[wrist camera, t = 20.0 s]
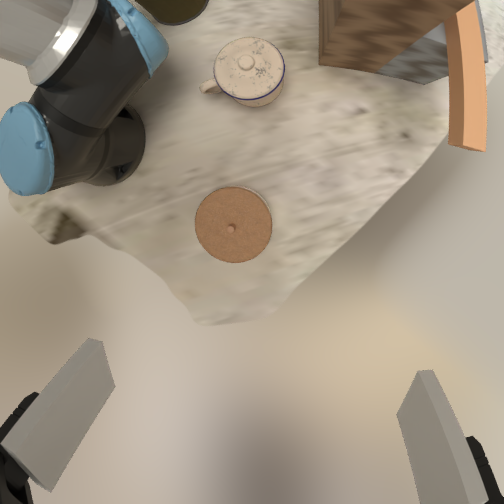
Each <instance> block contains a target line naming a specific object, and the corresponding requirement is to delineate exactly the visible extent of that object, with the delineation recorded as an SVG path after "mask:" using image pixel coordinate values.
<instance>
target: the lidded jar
mask: <svg viewBox="0 0 504 504" xmlns="http://www.w3.org/2000/svg"><path fill="white" fill-rule="evenodd" d="M195 230H196V234H197V237H198V239H199V242H200V243H201V245H202V246H203V248H204V249H205V250H206V251H207V252H208V253H209V254H211V255H212V256H214V257H215V258H217V259H219V260H222V261H225V262H230V263H240V262H245V261H248V260H251V259H253V258H254V257H256V256H257V255H259V254H260V253H261V252H262V251H263V250H264V249H265V247H266V246H267V244H268V242H269V240H270V237H271V233H272V218H271V213H270V210H269V207H268V205H267V203H266V202H265V200H264V199H263V198H262V197H261V196H260V195H259V194H258V193H257V192H255V191H254V190H252V189H249V188H247V187H243V186H228V187H224V188H221V189H219V190H216V191H214V192H213V193H211V194H209V195H208V196H207V197H206V198H205V199H204V200H203V201H202V203H201V204H200V206H199V208H198V210H197V213H196V217H195Z"/></svg>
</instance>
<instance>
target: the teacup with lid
mask: <svg viewBox="0 0 504 504" xmlns="http://www.w3.org/2000/svg"><path fill="white" fill-rule="evenodd" d="M284 72H285V64H284V60H283V57H282V55H281V53H280V52H279V50H278V49H277V48H276V47H275V46H274V45H272V44H271V43H269V42H268V41H266V40H263V39H260V38H254V37H246V38H240V39H237V40H234V41H232V42H230V43H229V44H227V45H226V46H225V47H224V48H223V49H222V50H221V51H220V52H219V54H218V56H217V58H216V60H215V63H214V77H215V78H212V79H209V80H207V81H205V82H203V83H202V84H201V85H200V91H201V92H202V93H204V94H213V93H218V92H221V91H224V92H225V93H226V94H228V95H229V96H231V97H233V98H234V99H235V100H236V101H238V102H239V103H241V104H243V105H246V106H251V107H258V106H263V105H266V104H268V103H270V102H272V101H273V100H274V99H275V98H276V97H277V96H278V95H279V94H280V92H281V90H282V87H283V76H284Z"/></svg>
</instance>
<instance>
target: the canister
mask: <svg viewBox="0 0 504 504" xmlns="http://www.w3.org/2000/svg"><path fill="white" fill-rule="evenodd" d="M135 1H136V2H137V3H139V4H140V5H141V6H142V7H144V8H145V9H146V10H147V11H148V12H150V13H151V14H152V15H153V17H154V18H155V19H156V20H157V21H158V22H160V23H162V24H165V25H180V24H183V23H186V22H188V21H191V20H192V19H194V18H196V17H197V16H198V15H199V14H200V13H201V12H202V11H203V10H204V9H205V7H206V6H207V3H208V1H209V0H135Z"/></svg>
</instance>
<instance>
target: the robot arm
mask: <svg viewBox="0 0 504 504" xmlns="http://www.w3.org/2000/svg"><path fill="white" fill-rule="evenodd" d="M168 50H169V47H168V43H167V41H166V40H165V38H164V37H163V36H162V35H161V33H160V32H159V31H158V30H157V29H156V28H155V26H154V25H153V24H152V23H151V22H150V21H149V20H148V19H147V18H146V17H145V16H144V15H143V14H142V13H141V12H139V11H137V9H136V8H135V7H134V6H133V5H132V4H131V3H130V2H129V1H127V0H0V58H3V59H6V60H9V61H12V62H14V63H17V64H20V65H23V66H26V68H27V71H28V75H29V79H30V82H31V83H32V84H33V85H36V86H38V87H37V89H36V91H35V92H34V94H33V95H32V97H31V99H30V100H29V102H20V103H18V104H16V105H15V106H13V107H11V108H9V109H8V110H7V111H6V113H5V114H4V116H3V118H2V120H1V122H0V174H1V176H2V178H3V180H4V182H5V183H6V185H7V186H8V187H9V189H11V190H12V191H13V192H14V193H16V194H18V195H21V196H30V195H35V194H45V193H46V192H48V191H51V190H55V189H58V188H61V187H65V186H68V185H71V184H75V183H79V182H82V181H83V182H86V183H89V184H93V185H96V186H108V185H112V184H116V183H119V182H121V181H123V180H125V179H126V178H128V177H129V176H130V175H131V174H132V173H133V172H134V171H135V169H136V168H137V166H138V165H139V163H140V161H141V158H142V156H143V152H144V147H145V131H144V126H143V123H142V121H141V119H140V117H139V115H138V114H137V113H136V111H135V110H134V109H133V108H131V107H130V106H129V105H127V103H128V101H129V100H130V99H131V98H132V96H133V95H134V94H135V93H136V92H137V91H138V89H139V88H140V87H141V86H142V85H143V84H144V83H145V81H146V80H147V79H148V78H149V79H150V78H151V77H152V75H153V72H154V71H155V70H156V69H157V68H158V66H159V65H160V64H161V63H162V62H163V61H164V60H165V58H166V57H167V55H168ZM114 388H115V384H114V381H113V378H112V374H111V371H110V368H109V364H108V361H107V357H106V354H105V350H104V346H103V343H102V341H98V340H94V339H90V338H88V339H87V340H86V341H85V342H84V343H83V344H82V345H81V347H80V348H79V349H78V350H77V351H76V352H75V353H74V354H73V356H72V357H71V358H70V359H69V360H68V361H67V362H66V364H65V365H64V366H63V367H62V368H61V369H60V370H59V372H58V373H57V374H56V375H55V376H54V377H53V379H52V380H51V381H50V382H49V383H48V385H47V386H46V387H45V388H44V389H43V390H42V392H41V393H40V394H39V393H36V392H33V393H32V394H30V395H29V396H27V397H25V398H24V399H23V401H22V402H21V403H20V404H19V405H18V408H16V409H15V410H14V411H13V414H11V415H10V416H9V417H8V419H7V420H6V421H5V422H4V424H3V425H2V426H1V427H0V504H33V500H32V495H31V490H30V486H29V483H28V481H27V480H28V478H29V477H30V478H31V479H32V480H33V481H34V482H35V483H36V484H37V485H39V486H40V487H42V488H44V489H45V490H48V491H49V492H52V490H53V489H54V487H55V485H56V483H57V481H58V480H59V478H60V476H61V475H62V473H63V471H64V470H65V468H66V466H67V464H68V463H69V461H70V459H71V458H72V456H73V454H74V453H75V451H76V449H77V447H78V446H79V444H80V443H81V441H82V439H83V438H84V436H85V434H86V433H87V431H88V430H89V428H90V426H91V425H92V423H93V421H94V420H95V418H96V417H97V415H98V413H99V412H100V410H101V409H102V407H103V405H104V404H105V402H106V400H107V399H108V398H109V396H110V394H111V393H112V391H113V390H114ZM397 418H398V421H399V424H400V428H401V431H402V434H403V438H404V441H405V445H406V449H407V452H408V456H409V460H410V464H411V467H412V471H413V475H414V479H415V484H416V488H417V492H418V496H419V501H420V504H504V497H503V496H502V495H501V493H500V491H499V488H498V485H497V482H496V480H495V477H494V474H493V472H492V469H491V467H490V465H488V463H489V462H488V460H487V457H485V453H484V450H483V448H482V446H481V444H480V443H479V442H478V441H477V440H476V439H475V438H474V437H473V436H470V437H466V438H465V436H464V434H463V432H462V429H461V427H460V425H459V423H458V420H457V418H456V416H455V414H454V412H453V410H452V407H451V405H450V403H449V401H448V399H447V397H446V395H445V393H444V391H443V389H442V387H441V385H440V383H439V381H438V379H437V377H436V375H435V373H434V371H433V370H423V371H417V374H416V376H415V378H414V380H413V382H412V384H411V386H410V389H409V391H408V393H407V395H406V397H405V399H404V401H403V403H402V405H401V407H400V409H399V410H398V412H397Z"/></svg>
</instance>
